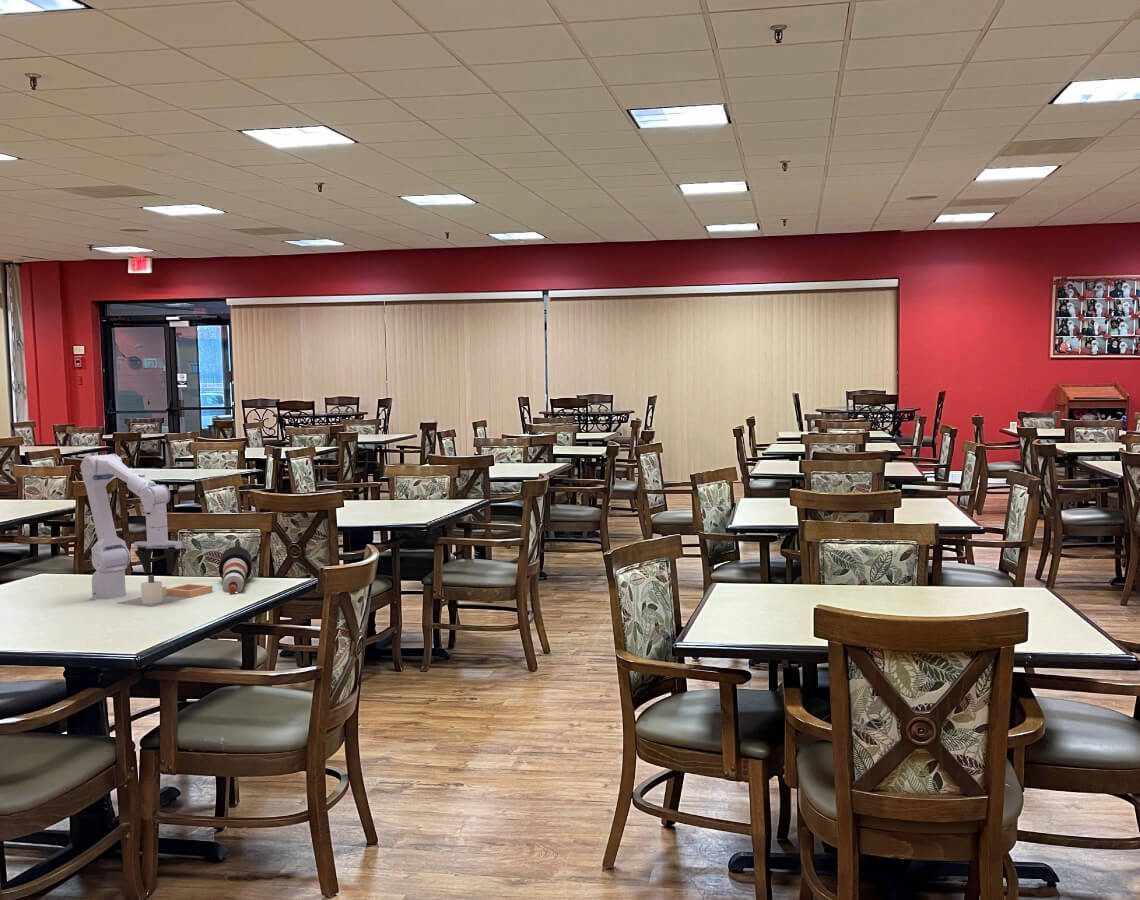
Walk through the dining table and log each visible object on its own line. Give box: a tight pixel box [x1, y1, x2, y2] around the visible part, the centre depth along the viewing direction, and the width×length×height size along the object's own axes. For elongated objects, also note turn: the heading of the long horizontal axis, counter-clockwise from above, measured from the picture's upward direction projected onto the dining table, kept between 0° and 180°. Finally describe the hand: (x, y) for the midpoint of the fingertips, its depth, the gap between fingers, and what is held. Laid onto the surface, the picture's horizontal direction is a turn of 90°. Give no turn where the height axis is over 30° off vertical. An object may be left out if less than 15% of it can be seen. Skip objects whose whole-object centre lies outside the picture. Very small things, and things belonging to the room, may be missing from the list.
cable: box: [218, 546, 253, 595], centre depth 327 cm, size 10×34×10 cm, turn 16°
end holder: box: [166, 583, 214, 599], centre depth 313 cm, size 10×9×2 cm
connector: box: [140, 574, 163, 604], centre depth 300 cm, size 4×4×8 cm
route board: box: [116, 593, 209, 608], centre depth 308 cm, size 15×24×1 cm, turn 154°
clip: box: [162, 585, 167, 597], centre depth 309 cm, size 5×3×3 cm, turn 64°
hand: (159, 573), depth 301 cm, fingers open, 7 cm apart
